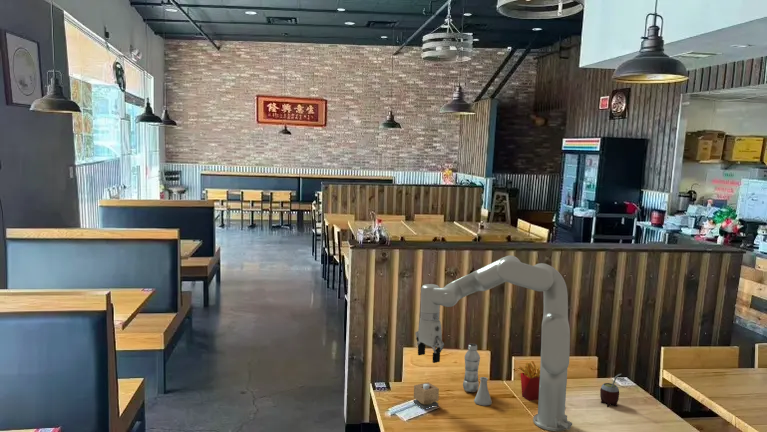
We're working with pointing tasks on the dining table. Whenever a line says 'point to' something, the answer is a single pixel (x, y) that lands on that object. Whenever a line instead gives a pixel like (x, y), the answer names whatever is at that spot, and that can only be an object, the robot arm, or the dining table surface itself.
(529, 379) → the french fries
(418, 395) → the collar
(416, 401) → the post stand
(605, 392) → the mate gourd
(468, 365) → the plastic bottle
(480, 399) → the flask
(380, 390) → the dining table surface
